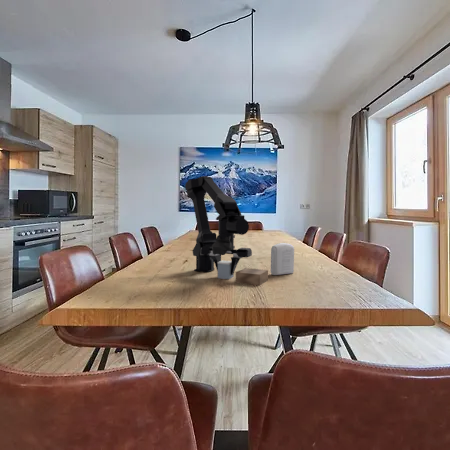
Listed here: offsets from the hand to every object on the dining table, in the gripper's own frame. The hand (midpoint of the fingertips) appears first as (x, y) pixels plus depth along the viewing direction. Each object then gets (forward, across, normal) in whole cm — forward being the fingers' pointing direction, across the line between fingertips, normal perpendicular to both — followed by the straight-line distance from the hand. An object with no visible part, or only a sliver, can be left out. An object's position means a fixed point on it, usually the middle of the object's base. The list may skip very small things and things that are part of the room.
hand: (225, 274), depth 127 cm
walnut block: (+2, +11, -2) cm, 11 cm away
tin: (+1, 0, 0) cm, 1 cm away
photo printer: (+2, +18, +16) cm, 24 cm away
